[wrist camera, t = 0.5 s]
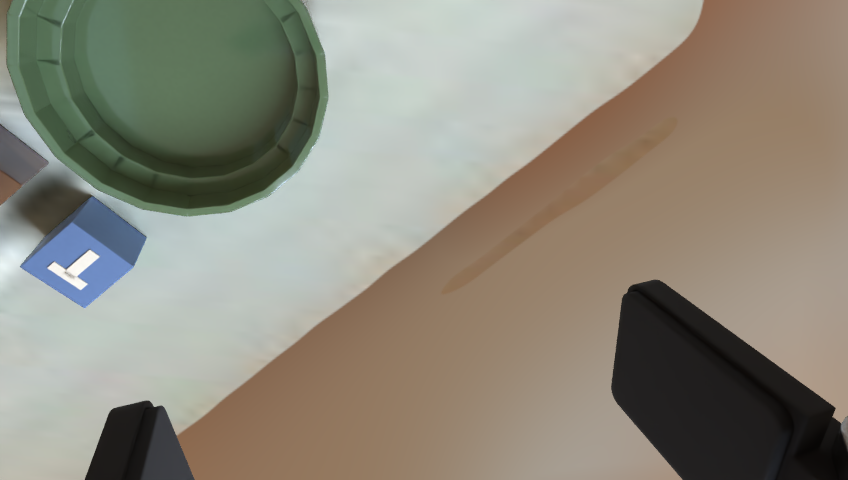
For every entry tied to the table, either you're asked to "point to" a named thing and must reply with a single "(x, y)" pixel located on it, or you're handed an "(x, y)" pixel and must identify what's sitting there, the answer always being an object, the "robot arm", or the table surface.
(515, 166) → the table surface
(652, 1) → the table surface
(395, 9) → the table surface
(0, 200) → the walnut block
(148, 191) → the faceted green bowl
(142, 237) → the periwinkle blue block
